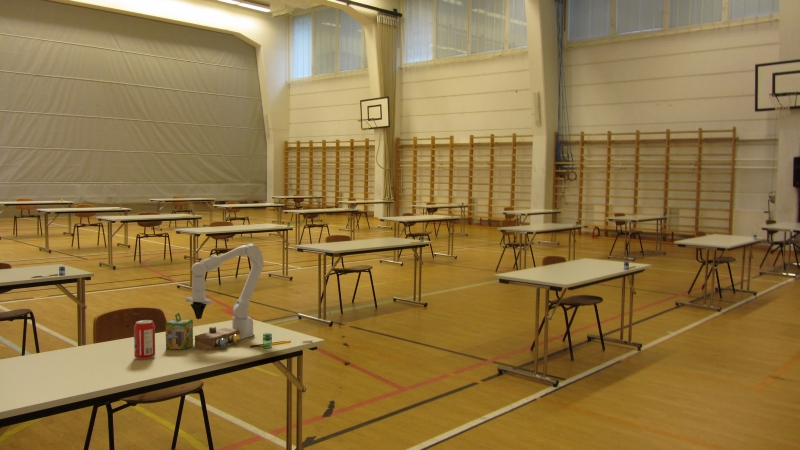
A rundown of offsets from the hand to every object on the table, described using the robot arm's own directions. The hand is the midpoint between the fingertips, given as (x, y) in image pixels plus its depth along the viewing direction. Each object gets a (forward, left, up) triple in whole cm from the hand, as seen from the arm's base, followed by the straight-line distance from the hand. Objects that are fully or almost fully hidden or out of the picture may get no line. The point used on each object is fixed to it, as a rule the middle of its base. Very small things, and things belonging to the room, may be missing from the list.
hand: (198, 318), depth 278 cm
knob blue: (+6, +16, -9) cm, 19 cm away
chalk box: (+13, +2, -10) cm, 17 cm away
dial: (+2, +11, -4) cm, 12 cm away
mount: (+2, +13, -10) cm, 17 cm away
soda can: (+32, +3, -10) cm, 34 cm away
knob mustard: (-2, +16, -9) cm, 18 cm away
